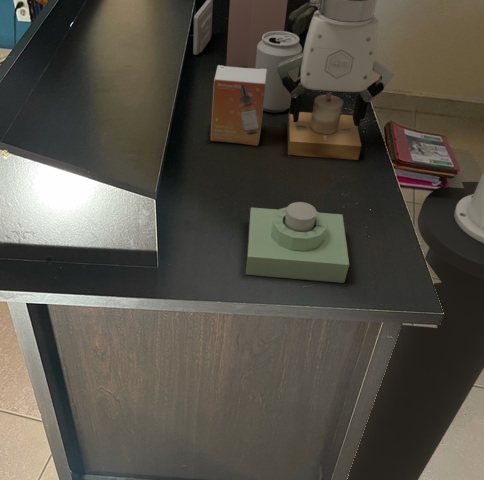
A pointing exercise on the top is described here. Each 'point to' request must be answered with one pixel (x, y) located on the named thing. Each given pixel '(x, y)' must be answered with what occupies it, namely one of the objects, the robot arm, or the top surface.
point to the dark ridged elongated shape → (300, 19)
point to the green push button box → (296, 247)
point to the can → (268, 56)
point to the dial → (326, 114)
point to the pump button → (300, 217)
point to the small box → (238, 104)
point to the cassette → (202, 27)
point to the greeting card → (251, 28)
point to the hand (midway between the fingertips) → (325, 120)
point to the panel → (323, 139)
